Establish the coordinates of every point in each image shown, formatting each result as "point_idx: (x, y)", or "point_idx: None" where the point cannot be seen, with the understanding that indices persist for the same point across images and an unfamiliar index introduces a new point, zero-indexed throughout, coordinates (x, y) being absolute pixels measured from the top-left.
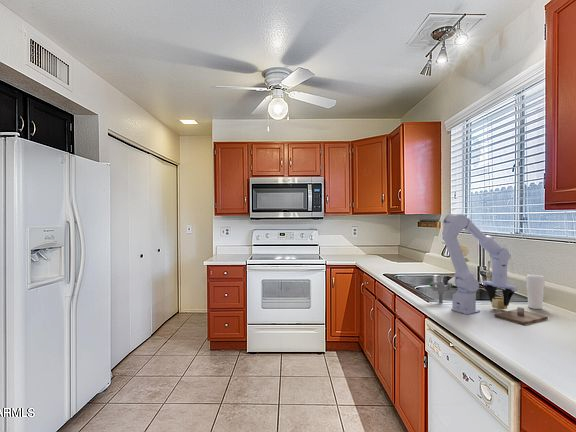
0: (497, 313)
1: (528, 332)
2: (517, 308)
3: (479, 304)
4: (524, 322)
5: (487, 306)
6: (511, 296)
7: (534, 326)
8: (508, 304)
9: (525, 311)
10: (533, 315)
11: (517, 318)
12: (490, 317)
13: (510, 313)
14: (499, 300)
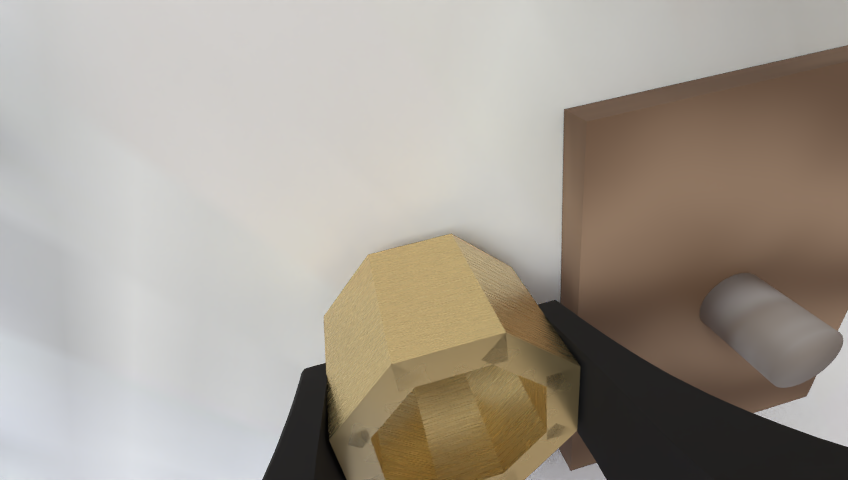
0: (577, 449)
1: (831, 427)
2: (767, 378)
3: (80, 362)
4: (804, 391)
5: (211, 323)
6: (710, 398)
7: (842, 331)
8: (567, 310)
9: (712, 122)
10: (831, 178)
11: (743, 386)
12: (555, 475)
13: (641, 353)
14: (528, 464)
